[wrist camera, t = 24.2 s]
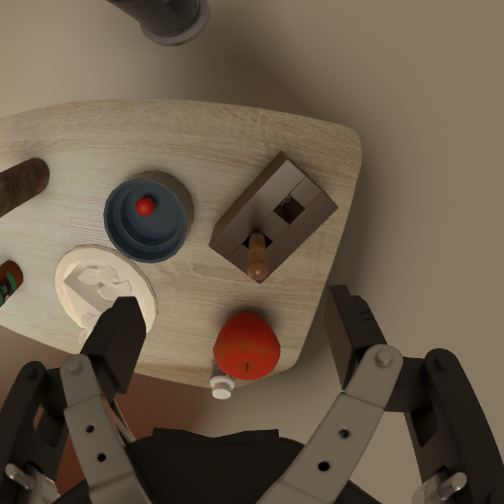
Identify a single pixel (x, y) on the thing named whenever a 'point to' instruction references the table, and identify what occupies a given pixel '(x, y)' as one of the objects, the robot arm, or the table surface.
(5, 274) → the bottle
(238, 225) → the stand
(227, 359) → the apple
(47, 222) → the table surface
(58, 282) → the dish
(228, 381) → the pill bottle
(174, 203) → the bowl
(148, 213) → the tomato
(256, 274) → the stick
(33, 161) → the brown tall cylinder
